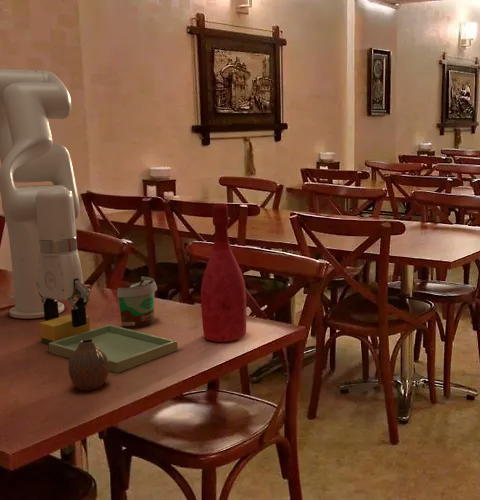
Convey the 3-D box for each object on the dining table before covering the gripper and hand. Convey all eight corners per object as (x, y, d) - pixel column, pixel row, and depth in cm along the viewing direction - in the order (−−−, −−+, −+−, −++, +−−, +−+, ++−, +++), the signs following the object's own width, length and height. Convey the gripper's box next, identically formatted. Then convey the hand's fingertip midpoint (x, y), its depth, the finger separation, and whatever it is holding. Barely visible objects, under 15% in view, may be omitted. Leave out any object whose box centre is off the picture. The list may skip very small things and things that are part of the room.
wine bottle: (193, 337, 157) (187, 203, 152) (229, 327, 164) (224, 199, 159) (220, 346, 151) (215, 208, 145) (256, 336, 158) (252, 203, 152)
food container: (143, 332, 161) (141, 289, 159) (119, 330, 162) (116, 288, 160) (167, 316, 173) (165, 277, 171) (144, 315, 174) (142, 276, 172)
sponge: (41, 341, 154) (39, 322, 153) (76, 331, 162) (74, 312, 161) (55, 345, 152) (53, 326, 151) (90, 334, 159) (89, 316, 158)
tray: (49, 352, 147) (48, 343, 147) (110, 333, 160) (109, 324, 160) (117, 373, 136) (117, 362, 135) (177, 350, 149) (177, 340, 148)
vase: (76, 379, 132) (72, 335, 131) (114, 378, 133) (111, 334, 131) (65, 394, 126) (61, 347, 124) (104, 393, 126) (101, 346, 125)
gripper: (19, 245, 154) (26, 321, 157) (68, 252, 145) (75, 332, 148) (49, 240, 160) (56, 313, 163) (99, 246, 151) (105, 324, 154)
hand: (65, 322), depth 155 cm, fingers open, 9 cm apart
